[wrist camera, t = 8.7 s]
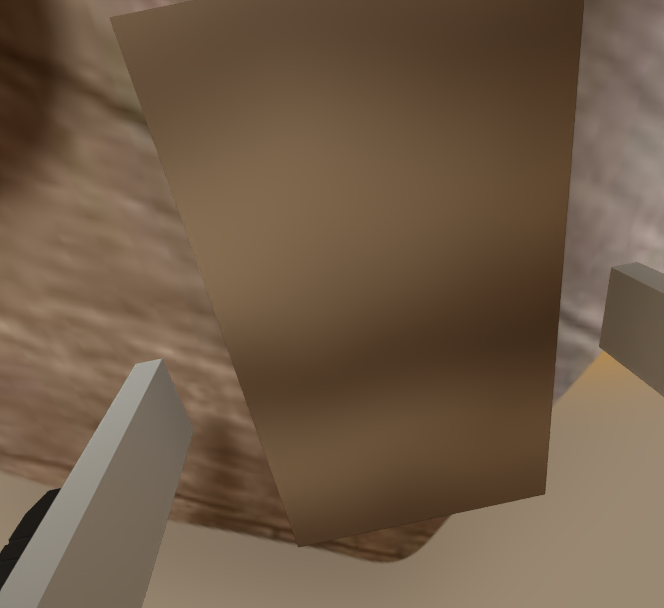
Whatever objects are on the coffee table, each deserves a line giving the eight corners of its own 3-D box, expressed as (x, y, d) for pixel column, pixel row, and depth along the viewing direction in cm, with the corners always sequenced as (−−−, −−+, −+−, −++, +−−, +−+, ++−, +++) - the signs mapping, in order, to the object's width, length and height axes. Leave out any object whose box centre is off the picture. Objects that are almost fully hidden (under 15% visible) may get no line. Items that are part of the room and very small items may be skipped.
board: (156, 42, 9) (108, 17, 6) (513, -31, 9) (589, -80, 7) (296, 481, 15) (298, 547, 13) (506, 436, 15) (545, 494, 13)
